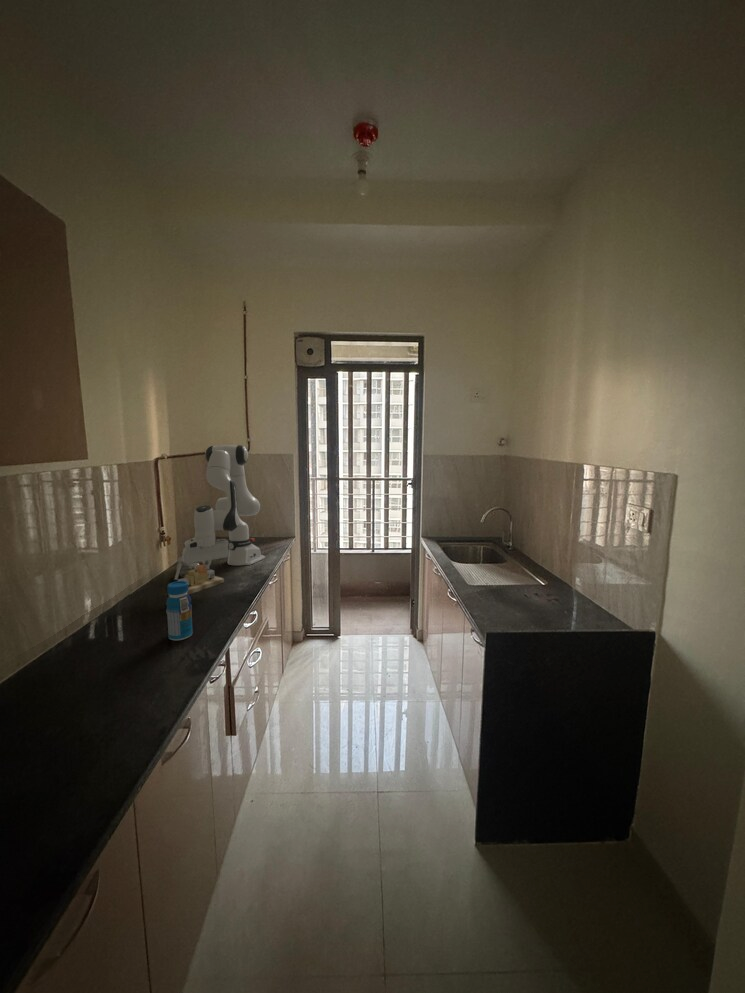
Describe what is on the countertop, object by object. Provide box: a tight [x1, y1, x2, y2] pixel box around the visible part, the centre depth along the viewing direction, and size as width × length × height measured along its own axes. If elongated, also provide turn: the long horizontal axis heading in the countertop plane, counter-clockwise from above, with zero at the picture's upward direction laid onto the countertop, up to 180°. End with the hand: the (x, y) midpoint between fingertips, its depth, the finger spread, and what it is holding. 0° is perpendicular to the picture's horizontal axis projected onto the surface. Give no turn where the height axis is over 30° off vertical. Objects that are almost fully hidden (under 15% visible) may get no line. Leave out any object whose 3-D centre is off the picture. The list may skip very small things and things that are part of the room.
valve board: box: [187, 575, 225, 596], centre depth 194 cm, size 22×12×2 cm, turn 149°
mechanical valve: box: [169, 555, 195, 584], centre depth 201 cm, size 10×18×15 cm
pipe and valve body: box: [177, 568, 216, 586], centre depth 193 cm, size 18×5×8 cm, turn 149°
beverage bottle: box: [165, 581, 194, 642], centre depth 144 cm, size 8×8×20 cm
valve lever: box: [193, 562, 208, 575], centre depth 188 cm, size 13×3×3 cm, turn 39°
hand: (206, 569), depth 186 cm, fingers closed
